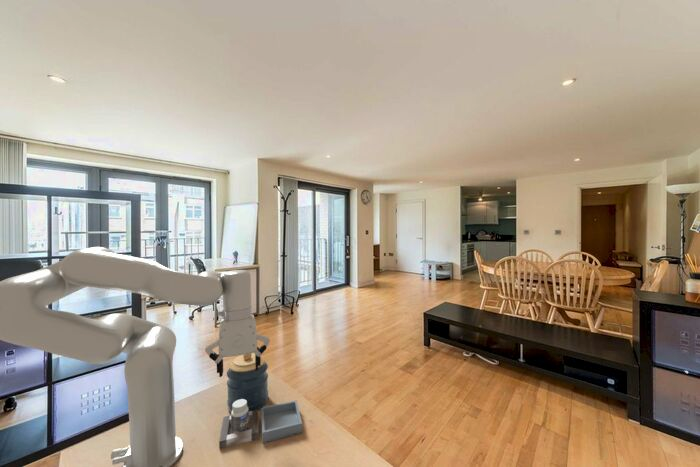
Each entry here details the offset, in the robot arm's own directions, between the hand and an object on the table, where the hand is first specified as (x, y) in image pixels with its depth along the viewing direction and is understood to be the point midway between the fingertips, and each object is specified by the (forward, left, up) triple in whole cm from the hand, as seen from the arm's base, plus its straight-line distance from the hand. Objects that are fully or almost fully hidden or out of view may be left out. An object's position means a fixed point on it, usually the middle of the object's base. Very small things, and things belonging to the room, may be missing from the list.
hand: (239, 371), depth 80 cm
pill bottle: (0, 0, -18) cm, 18 cm away
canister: (+2, +12, -18) cm, 22 cm away
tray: (+11, -2, -18) cm, 21 cm away
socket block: (0, 0, -18) cm, 18 cm away
